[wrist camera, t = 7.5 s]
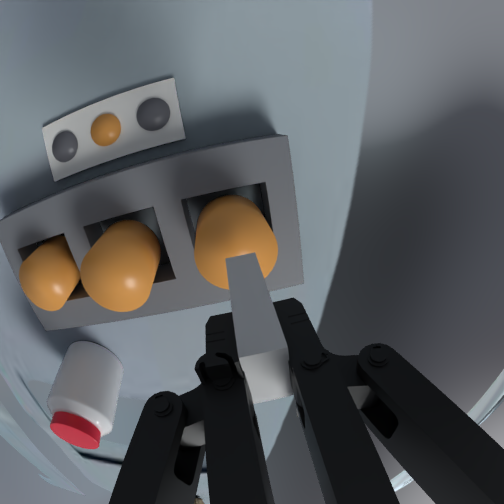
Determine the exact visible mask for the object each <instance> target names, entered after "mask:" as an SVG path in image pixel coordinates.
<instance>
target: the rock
mask: <svg viewBox="0 0 504 504" xmlns="http://www.w3.org/2000/svg"><path fill="white" fill-rule="evenodd" d="M194 504H204V503H203V501H202V499H200V498H195V501H194Z"/></svg>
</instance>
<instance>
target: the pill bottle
mask: <svg viewBox="0 0 504 504" xmlns="http://www.w3.org/2000/svg"><path fill="white" fill-rule="evenodd" d="M123 373H124V370H123V366H122V364H121V362H120V360H119V359H118V358H117V357H116V356H115V355H114V354H113V353H112V352H111V351H109V350H108V349H106V348H105V347H103V346H101V345H98V344H96V343H93V342H89V341H77V342H74V343H72V344H71V345H70V346H69V347H68V349H67V351H66V354H65V356H64V358H63V361H62V363H61V365H60V368H59V370H58V373H57V375H56V378H55V380H54V383H53V385H52V388H51V391H50V394H49V396H48V399H47V406H48V408H49V410H50V412H51V414H52V416H53V417H52V420H51V424H50V428H51V430H52V431H53V432H54V433H55V434H56V435H57V436H59V437H60V438H61V439H63V440H65V441H67V442H68V443H71V444H73V445H75V446H78V447H82V448H86V449H96V448H98V447H99V443H100V437H102V436H104V435H107V434H109V433H110V432H111V431H112V428H113V423H114V417H115V412H116V406H117V401H118V396H119V391H120V386H121V382H122V377H123Z"/></svg>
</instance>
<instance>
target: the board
mask: <svg viewBox="0 0 504 504" xmlns="http://www.w3.org/2000/svg"><path fill="white" fill-rule="evenodd" d="M257 183H260V187H261V193H262V199H263V206H264V212H265V219H266V221H267V223H268V225H269V226H270V228H271V230H272V232H273V233H274V235H275V238H276V240H277V245H278V256H277V260H276V263H275V265H274V267H273V269H272V271H271V272H270V273H269V275H268V276H267V277H266V278H265V282H266V285H267V288H268V291H269V292H270V291H274V290H279V289H283V288H287V287H291V286H296V285H300V284H304V277H303V265H302V253H301V242H300V232H299V222H298V212H297V203H296V195H295V186H294V178H293V170H292V163H291V155H290V148H289V141H288V136H287V135H280V134H275V135H268V136H261V137H255V138H249V139H243V140H237V141H232V142H227V143H222V144H217V145H212V146H207V147H202V148H198V149H194V150H189V151H185V152H181V153H177V154H173V155H169V156H165V157H161V158H158V159H154V160H150V161H147V162H143V163H140V164H137V165H133V166H130V167H127V168H124V169H120V170H117V171H114V172H111V173H108V174H105V175H102V176H99V177H97V178H94V179H91V180H88V181H85V182H83V183H80V184H77V185H75V186H72V187H70V188H67V189H64V190H62V191H59V192H57V193H55V194H52V195H50V196H47V197H45V198H43V199H41V200H38V201H36V202H34V203H32V204H29V205H27V206H25V207H23V208H21V209H19V210H17V211H15V212H13V213H11V214H9V215H7V216H6V217H4V218H3V219H1V220H0V242H1V244H2V247H3V249H4V252H5V254H6V256H7V259H8V261H9V263H10V266H11V268H12V270H13V272H14V274H15V276H16V278H17V280H18V282H19V284H20V280H19V269H20V266H21V264H22V263H23V262H24V261H25V260H26V259H27V258H28V257H29V256H30V255H31V254H32V253H33V252H34V251H35V250H36V249H37V248H38V247H37V245H36V242H38V241H41V240H44V239H47V238H50V237H53V236H56V235H59V234H62V233H64V235H65V237H66V240H67V242H68V245H69V247H70V250H71V252H72V255H73V257H74V259H75V262H76V264H77V266H78V269H79V271H80V268H81V263H82V260H83V258H84V257H85V255H86V254H87V253H88V251H89V250H90V249H91V248H92V246H93V245H94V244H95V243H96V242H97V240H98V239H99V238H100V237H101V236H102V234H103V231H102V229H101V226H100V223H99V222H100V221H103V220H106V219H110V218H113V217H117V216H120V215H124V214H127V213H131V212H134V211H138V210H142V209H146V208H149V207H153V206H154V210H155V213H156V217H157V220H158V224H159V227H160V230H161V234H162V237H163V240H164V243H165V247H166V250H167V253H168V256H169V259H170V262H171V263H169V264H164V265H160V266H158V268H157V271H156V275H155V278H154V281H153V285H152V288H151V292H150V295H149V297H148V299H147V301H146V302H145V303H144V304H143V305H142V306H141V307H139V308H137V309H135V310H133V311H128V312H117V311H112V310H109V309H106V308H104V307H102V306H101V305H99V304H98V303H96V302H95V301H94V300H93V299H92V298H91V297H90V296H89V295H88V293H87V292H86V290H85V288H84V286H83V284H82V283H78V284H77V285H76V286H75V288H74V290H73V291H72V293H71V294H70V296H69V297H68V299H67V300H66V302H65V304H64V305H63V307H62V308H60V309H59V310H56V311H47V310H44V309H41V308H40V307H38V306H36V305H35V304H34V303H33V302H32V301H31V300H30V299H29V298H28V297H27V296H26V294H25V293H24V294H25V296H26V298H27V300H28V301H29V303H30V305H31V307H32V309H33V310H34V312H35V314H36V315H37V317H38V319H39V320H40V322H41V324H42V325H43V327H44V329H45V330H46V331H51V330H59V329H66V328H74V327H81V326H88V325H95V324H102V323H108V322H115V321H121V320H127V319H133V318H139V317H145V316H151V315H156V314H162V313H168V312H173V311H178V310H184V309H189V308H194V307H199V306H204V305H209V304H214V303H219V302H224V301H229V300H230V292H229V290H228V289H223V288H220V287H217V286H215V285H213V284H211V283H210V282H208V281H207V280H206V279H205V278H204V277H203V276H202V275H201V273H200V272H199V270H198V268H197V266H196V263H195V259H194V249H195V238H196V235H195V231H194V227H193V223H192V220H191V216H190V212H189V208H188V204H187V200H186V198H190V197H194V196H199V195H203V194H208V193H212V192H217V191H222V190H226V189H231V188H236V187H241V186H246V185H251V184H257ZM20 286H21V284H20ZM21 288H22V287H21ZM22 290H23V289H22ZM23 292H24V291H23Z"/></svg>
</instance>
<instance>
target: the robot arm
mask: <svg viewBox="0 0 504 504" xmlns="http://www.w3.org/2000/svg"><path fill="white" fill-rule="evenodd" d="M225 260H226V269H227V277H228V285H229V292H230V300H231V307H232V312H230V313H225V314H220V315H215V316H210V318H209V320H208V322H207V323H206V325H205V327H206V354H204V355H203V356H201V357H200V358H199V360H198V361H197V362H196V365H195V371H196V373H197V375H198V377H199V379H200V381H201V384H200V385H199V386H198V387H197V388H195V389H193V390H191V391H189V392H187V393H184V394H182V395H180V396H178V395H177V394H176V393H173V392H170V391H163V392H159V393H156V394H154V395H153V396H151V397H150V398H149V399H148V400H147V402H146V404H145V406H144V408H143V411H142V413H141V416H140V418H139V421H138V424H137V426H136V429H135V431H134V434H133V437H132V439H131V442H130V445H129V447H128V450H127V453H126V455H125V458H124V461H123V464H122V467H121V469H120V472H119V475H118V478H117V481H116V484H115V487H114V490H113V493H112V496H111V499H110V502H109V504H194V501H195V496H196V492H197V487H198V482H199V478H200V473H201V469H202V464H203V459H204V454H205V450H206V464H207V476H208V487H209V498H210V504H275V503H274V498H273V494H272V489H271V485H270V480H269V476H268V471H267V466H266V461H265V456H264V451H263V446H262V442H261V437H260V432H259V427H258V421H257V416H256V414H255V411H254V406H253V404H255V403H260V402H265V401H270V400H274V399H279V398H283V397H287V396H291V395H293V393H294V397H295V400H296V409H297V417H299V418H300V421H301V425H302V428H303V431H304V435H305V438H306V441H307V444H308V448H309V451H310V454H311V457H312V461H313V464H314V467H315V470H316V473H317V477H318V480H319V484H320V487H321V490H322V493H323V497H324V500H325V503H326V504H400V503H399V501H398V499H397V497H396V494H395V492H394V489H393V487H392V484H391V482H390V480H389V477H388V475H387V473H386V471H385V468H384V466H383V464H382V461H381V459H380V457H379V455H378V453H377V450H376V448H375V446H374V444H373V441H372V439H371V437H370V435H369V432H368V431H367V428H366V426H365V424H366V425H367V426H368V428H369V429H370V430H371V431H372V432H373V434H374V435H375V436H376V437H377V438H378V439H379V441H381V443H382V444H383V445H384V446H385V447H386V449H387V450H388V451H389V452H390V453H391V454H392V455H393V457H394V458H395V459H396V460H397V461H398V462H399V463H400V465H401V466H402V467H403V468H404V469H405V470H406V471H407V473H408V474H409V475H410V476H411V477H412V478H413V479H414V480H415V481H416V483H417V484H418V485H419V486H420V487H421V488H422V489H423V490H424V491H425V493H426V494H427V495H428V496H429V497H430V498H431V499H432V500H433V501H434V502H435V504H504V449H503V448H502V447H501V446H500V445H499V444H498V443H497V442H495V440H493V439H492V438H491V437H490V436H489V435H488V434H487V433H486V432H485V431H484V430H483V429H482V428H481V427H480V426H479V425H477V424H476V423H475V422H474V421H473V420H472V419H471V418H470V417H469V416H468V415H467V414H465V413H464V412H463V411H462V410H461V409H460V408H459V407H458V406H457V405H456V404H455V403H453V402H452V401H451V400H450V399H449V398H448V397H447V396H446V395H445V394H443V393H442V392H441V391H440V390H439V389H438V388H437V387H436V386H435V385H434V384H432V383H431V382H430V381H429V380H428V379H427V378H426V377H424V376H423V375H422V374H421V373H420V372H419V371H418V370H417V369H416V368H414V367H413V366H412V365H411V364H410V363H409V362H408V361H407V360H405V359H404V358H403V357H402V356H401V355H400V354H398V353H397V352H396V351H395V350H394V349H393V348H391V347H389V346H388V345H384V344H381V343H378V344H371V345H368V346H366V347H365V348H363V349H362V350H361V351H360V353H359V355H351V356H339V355H335V354H332V353H330V352H329V351H328V350H326V349H324V347H323V346H322V344H321V342H320V340H319V338H318V336H317V334H316V332H315V330H314V327H313V325H312V323H311V321H310V320H309V317H308V315H307V314H306V311H305V309H304V307H303V305H302V303H300V302H299V301H298V300H296V299H295V298H290V299H285V300H281V301H277V302H272V300H271V297H270V294H269V291H268V288H267V285H266V282H265V279H264V276H263V274H262V271H261V268H260V265H259V262H258V259H257V256H256V253H255V252H254V253H249V254H245V255H240V256H235V257H230V258H226V259H225ZM364 423H365V424H364Z"/></svg>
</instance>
